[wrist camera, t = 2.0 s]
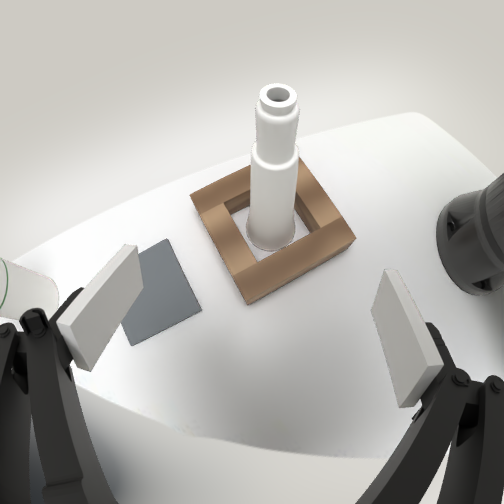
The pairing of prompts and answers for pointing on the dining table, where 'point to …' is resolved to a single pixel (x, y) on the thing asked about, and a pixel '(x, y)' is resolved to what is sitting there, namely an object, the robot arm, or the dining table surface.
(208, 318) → the dining table surface
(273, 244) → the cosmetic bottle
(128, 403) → the dining table surface
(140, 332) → the mat
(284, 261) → the collar
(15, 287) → the cylindrical container
